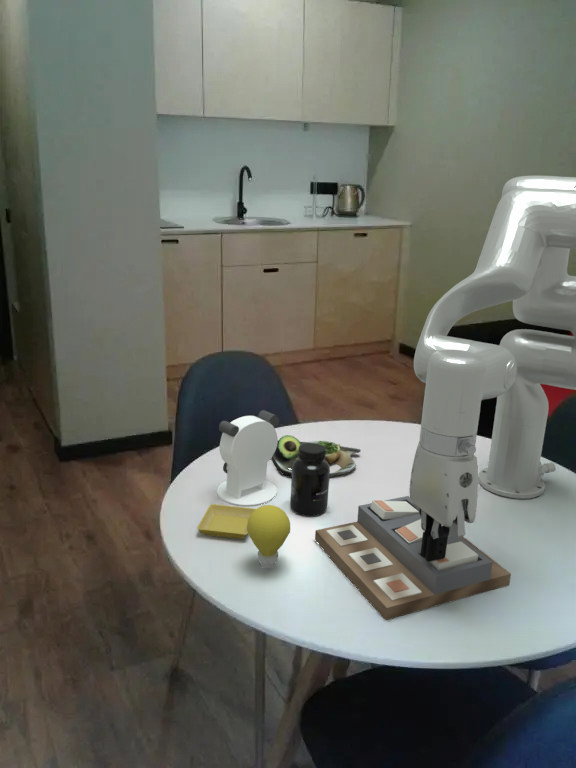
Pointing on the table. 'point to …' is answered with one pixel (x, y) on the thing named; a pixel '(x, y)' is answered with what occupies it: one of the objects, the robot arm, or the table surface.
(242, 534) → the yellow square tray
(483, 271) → the robot arm
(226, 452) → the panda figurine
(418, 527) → the rocker
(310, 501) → the supplement bottle
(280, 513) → the light bulb
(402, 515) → the rocker
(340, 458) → the salad plate
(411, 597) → the board
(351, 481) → the table surface
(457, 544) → the rocker
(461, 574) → the switch housing
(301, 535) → the table surface
